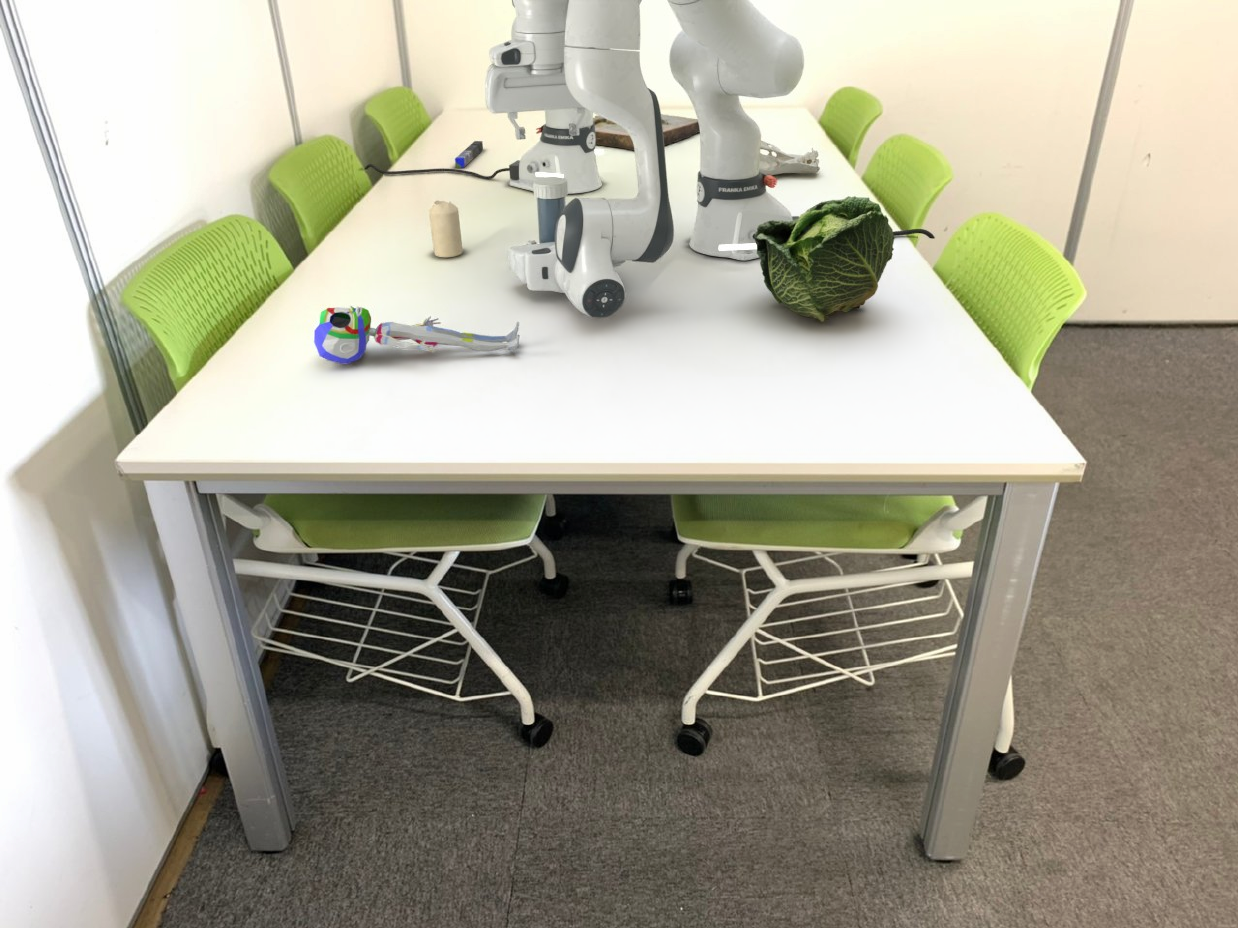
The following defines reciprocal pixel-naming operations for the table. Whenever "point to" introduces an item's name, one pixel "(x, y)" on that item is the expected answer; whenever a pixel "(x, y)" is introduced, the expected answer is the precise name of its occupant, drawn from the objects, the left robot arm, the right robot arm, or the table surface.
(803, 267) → the vegetable
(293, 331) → the table surface
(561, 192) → the lid
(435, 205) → the candle
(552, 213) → the jar
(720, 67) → the right robot arm
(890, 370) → the table surface
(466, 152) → the pillar
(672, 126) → the plaque
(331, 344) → the toy
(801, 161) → the anatomical model
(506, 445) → the table surface
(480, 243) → the table surface
